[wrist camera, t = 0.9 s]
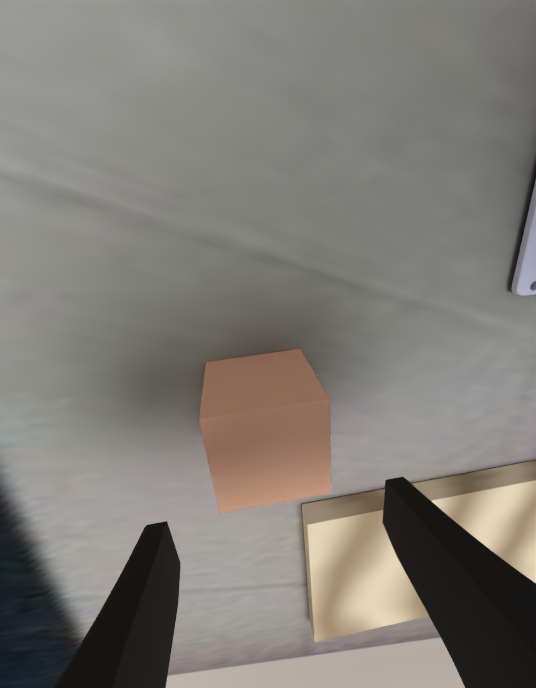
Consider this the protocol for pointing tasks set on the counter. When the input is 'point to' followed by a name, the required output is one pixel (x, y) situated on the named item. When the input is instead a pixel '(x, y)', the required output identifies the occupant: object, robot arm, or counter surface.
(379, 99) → the counter surface
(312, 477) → the terracotta cube
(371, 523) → the birch board
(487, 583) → the robot arm
